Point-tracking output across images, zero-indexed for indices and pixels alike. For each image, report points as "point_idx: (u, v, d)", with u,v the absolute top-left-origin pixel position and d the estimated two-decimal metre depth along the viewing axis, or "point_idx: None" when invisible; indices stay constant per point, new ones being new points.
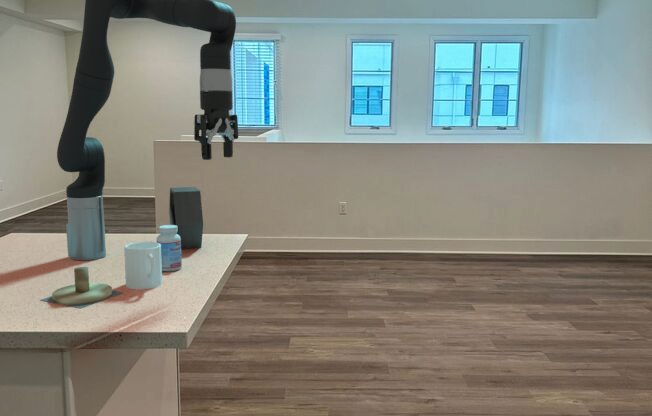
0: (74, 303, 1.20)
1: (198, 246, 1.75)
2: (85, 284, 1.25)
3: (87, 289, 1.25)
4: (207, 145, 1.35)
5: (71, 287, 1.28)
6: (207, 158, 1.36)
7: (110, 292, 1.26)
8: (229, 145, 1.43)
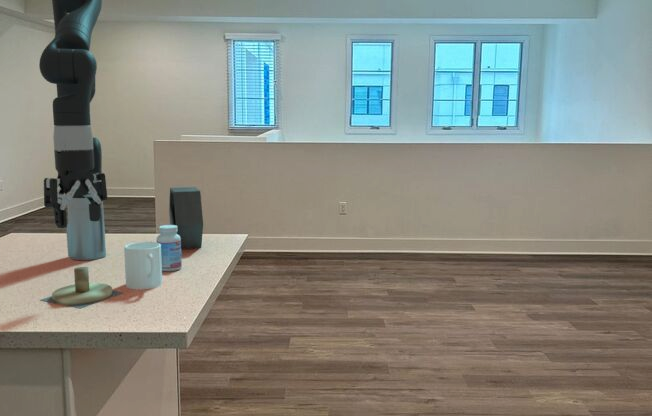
0: (74, 303, 1.20)
1: (198, 246, 1.75)
2: (85, 284, 1.25)
3: (87, 289, 1.25)
4: (61, 212, 1.19)
5: (71, 287, 1.28)
6: (62, 226, 1.19)
7: (110, 292, 1.26)
8: (94, 208, 1.26)
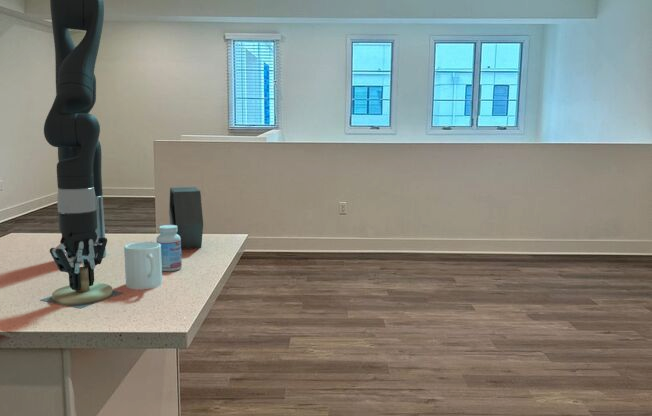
0: (74, 303, 1.20)
1: (198, 246, 1.75)
2: (85, 284, 1.25)
3: (87, 289, 1.26)
4: (75, 275, 1.23)
5: None
6: (76, 289, 1.24)
7: (110, 292, 1.26)
8: None
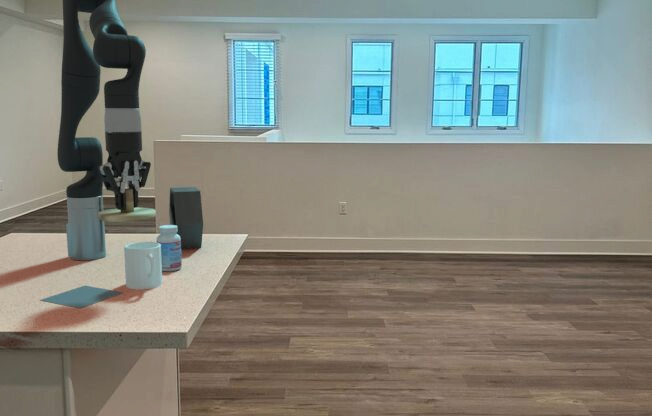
0: (120, 220, 1.23)
1: (198, 246, 1.75)
2: (130, 204, 1.28)
3: (132, 210, 1.29)
4: (120, 195, 1.26)
5: (116, 209, 1.32)
6: (121, 208, 1.27)
7: (154, 213, 1.29)
8: (133, 194, 1.29)
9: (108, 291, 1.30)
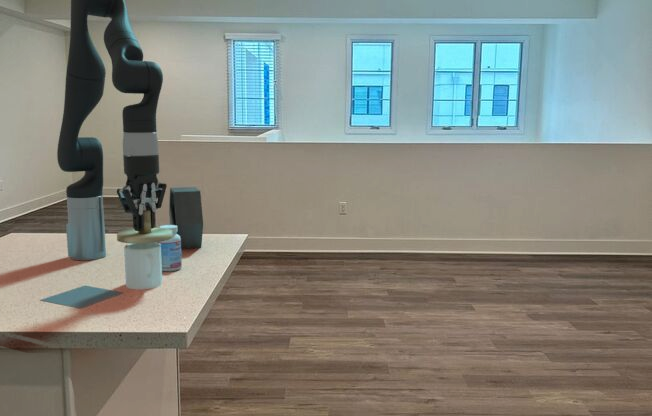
0: (140, 241, 1.26)
1: (198, 246, 1.75)
2: (148, 225, 1.31)
3: (149, 231, 1.31)
4: (139, 216, 1.29)
5: (133, 230, 1.34)
6: (139, 230, 1.30)
7: (171, 234, 1.32)
8: None
9: (108, 291, 1.30)
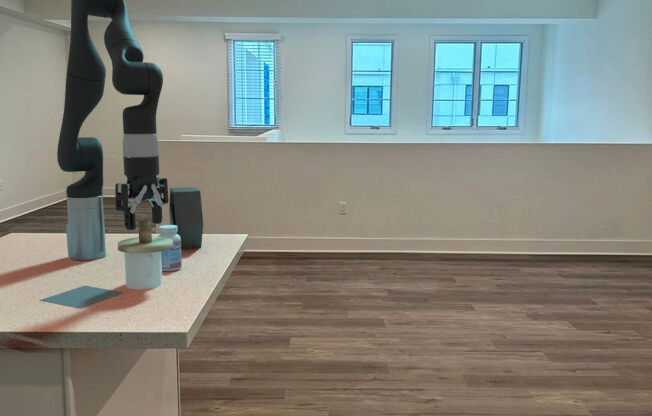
0: (140, 251, 1.26)
1: (198, 246, 1.75)
2: (149, 235, 1.31)
3: (150, 240, 1.32)
4: (130, 215, 1.27)
5: (133, 239, 1.35)
6: (131, 228, 1.27)
7: (172, 243, 1.32)
8: (157, 211, 1.34)
9: (108, 291, 1.30)
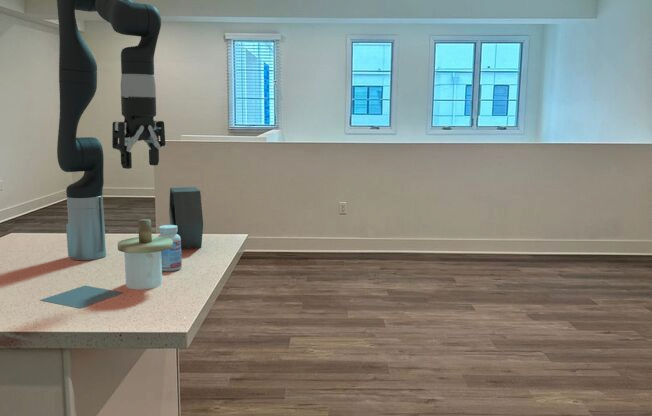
0: (140, 251, 1.26)
1: (198, 246, 1.75)
2: (148, 235, 1.31)
3: (150, 240, 1.32)
4: (126, 153, 1.29)
5: (133, 239, 1.35)
6: (127, 167, 1.30)
7: (172, 243, 1.32)
8: (154, 153, 1.37)
9: (108, 291, 1.30)
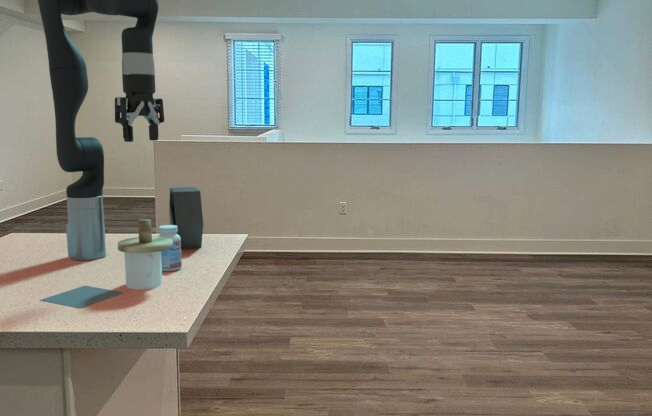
0: (140, 251, 1.27)
1: (198, 246, 1.75)
2: (148, 235, 1.31)
3: (150, 240, 1.32)
4: (128, 127, 1.38)
5: (133, 239, 1.35)
6: (129, 140, 1.39)
7: (172, 243, 1.32)
8: (154, 128, 1.46)
9: (108, 291, 1.30)
